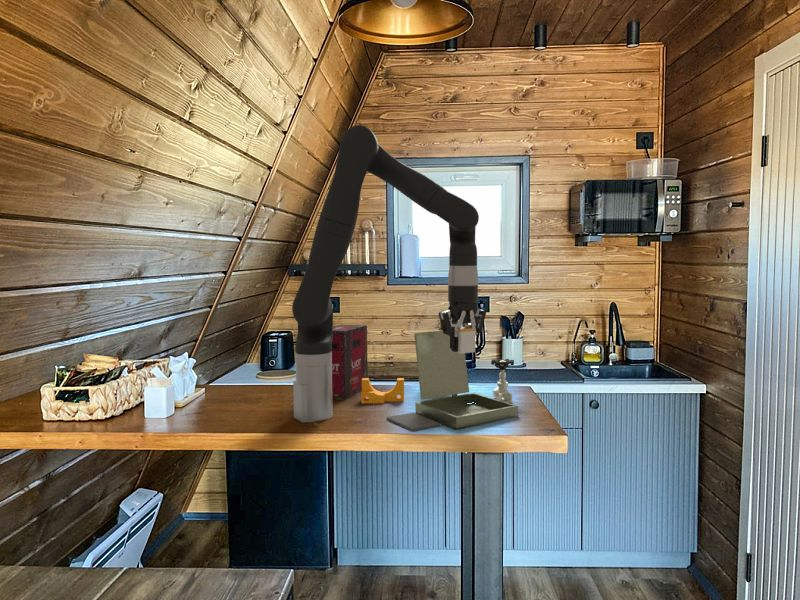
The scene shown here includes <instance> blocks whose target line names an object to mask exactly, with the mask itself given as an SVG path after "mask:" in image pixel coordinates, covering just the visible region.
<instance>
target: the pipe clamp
mask: <svg viewBox="0 0 800 600" xmlns="http://www.w3.org/2000/svg"><path fill="white" fill-rule="evenodd" d="M360 392H361V395H360V396H361V400H360V401H361V404H385V402H404V401H405V378H404V377H397V379H396V383H395V385H394V386H393V388H391V389H390V390H388V391H379V390H377V389H376V388H374V387H373V386H372V384H371V381H370V378H369V377H368V378H362V391H360Z"/></svg>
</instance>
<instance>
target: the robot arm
mask: <svg viewBox="0 0 800 600" xmlns="http://www.w3.org/2000/svg"><path fill="white" fill-rule="evenodd" d="M335 163H336V164H335V170H334V174H333V178H332V181H331V183H330V186H329V188H328V192H327V194H326V196H325V200H324V203H323V204H322V207H321V208H322V209H321V212H320V214H319V218H318V221H317V224H316V228H315V231H314V235H313V239H312V243H311V247H310V252H309V256H308V262H307V265H306V270H305V272H304V276H303V278H302V280H301V282H300V284H299V287H298V290H297V293H296V294H295V297H294V298H293V299H294V300H293V302H292V307H291V311H292V316H293V318H294V320H295V321H296V322H297V336H296V340H295V348H294V349H295V351H294V352H295V380H294V381H293V384H292V385H293V387H292V389H293V418H294V419H295V420H297V421H299V422H301V423H302V424H304V423H315V422H320V421H325V420H329V419H331V418H332V417H333V416H334V415H333V414H334V413H333V411H334V408H333V407H334V406H333V405H334V404H333V399H332V339H333V327H334V307H333V302H332V299H331V292H332V290H333V289H332V287H333V283H334V280H335V277H336V275H337V273H338V271H339V268H340V266H341V265H342V262H343V261H344V259H345V257H346V254H347V252H348V250H349V247H350V244H351V242H352V239H353V236H354V231H355V228H356V225H357V220H358V215H359V209H360V208H359V207H360V201H361V192H362V187H363V184H364V179H365V178H366V174H367V173H369V174H372V176H376V177H377V178H378V179H380V180H382V181H384V182H385V183H387V184H389V185H390V186H392V187H393V188H395V189H396V190H397V191H398V192H400V193H401V194H402V195H404V196H405V197H407V198H408V199H409V200H411V201H412V202H413V203H415V204H417V205H418V207H421V208H422V209H424V210H426V211H427V212H429V213H431V214H432V215H436V216H437V217H439V218H440V219H442V220H443V221H444V222H446V223H448V233H449V244H450V245H449V253H448V255H449V256H448V257H449V259H448V260H449V262H448V263H449V264H448V265H449V267H448V275H447V282H448V283H447V287H448V288H447V292H448V293H447V300H448V303H449V305H448V309H447V310H445V311H439V312H438V316H439V322H440V325H441V331H443V333H444V334H446V335H449V336H450V349H451V351H453V352H458V334H459V329H461V327H466V328H473V329H474V331H475V336H477V334H480V333H482V332H483V328H484V324H485V320H486V316H487V311H486V310H484V309H479V308H478V307H477V302H478V301H479V272H478V249H477V245H476V228H477V226H478V223H479V219H480V216H479V213H478V210H477V208H476V207H475V206H474V205H472V204H471V203H469V202H468V201H466V200H465V199H463V198H461V197H459V196H457V195H456V194H454V193H451V192H450V191H448V190H447V189H445V187H443V186H441V185H440V184H439V183H438V182H437V181H434V180H433V179H432V178H430V177H428V176H427V175H425V174H424V173H422V172H420V171H418V170H416V169H414V168H412V167H410V166H409V165H407V164H404V163H402V162H401V161H399V160H398V159H396V158H395V157H393V156H392V155H391V154H389V153H388V152H387V150H385V149H384V147H382V146H381V144H379V142H378V139H377V137H376V135H375V134H374V132H373V131H372V130H371V129H370V127H369V128H368V127H367V126H365V125H363V124H361V125H360V124H358V125H357V124H356V125H353V126H351V127H349V128H348V129H346V130H345V131H344V132H343V135H342V136H341V139H340V142H339V146H338V153H337V160H336V162H335Z"/></svg>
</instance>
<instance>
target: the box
mask: <svg viewBox="0 0 800 600" xmlns="http://www.w3.org/2000/svg"><path fill="white" fill-rule="evenodd" d="M368 368H369V367H368V325H363V324H339V325H335V326H334V325H333V339H332V400H339V401H340V400H341V401H343V400H344V401H347V400H348V399H350V398H352V397H353V396H355V395H356V394H358V393H360V392H362V378H369V377H368V376H369V375H368V373H369V372H368Z"/></svg>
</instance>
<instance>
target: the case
mask: <svg viewBox="0 0 800 600" xmlns="http://www.w3.org/2000/svg"><path fill="white" fill-rule="evenodd" d="M472 402H474V403H472ZM414 403H415V407H414V408H415V413H416V414H418V415H421V416H423V417H426V418H428V419H430V420H433V421H435V422H438V423H440V425H443V426H446V427H448V428H451V429H453V430H456V431H458V430H462V429H463V430H464V429H468V428H474V427H478V426H481V425H486V424H491V423H495V422H499V421H504V420H507V419H509V420H510V419H512V418H517V417H519V405H517V404H513V403H511V402H510V403H507V402H503V401H500V400H497V399H496V398H493V397H489V396H486V395H483V394H480V393H476V392H468V393H462V394H455V395H449V396H443V397H437V398H431V399H425V400H420V401H416V402H414ZM467 403H472V404H467ZM475 403H476V404H475Z"/></svg>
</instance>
